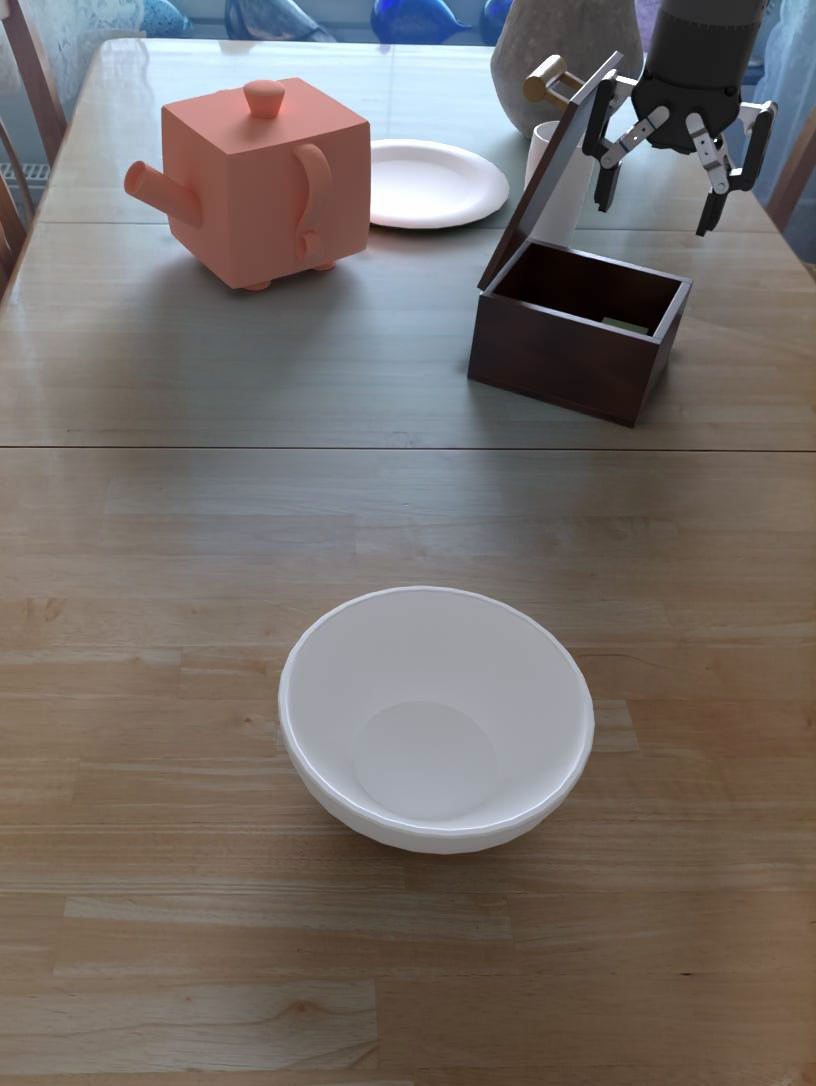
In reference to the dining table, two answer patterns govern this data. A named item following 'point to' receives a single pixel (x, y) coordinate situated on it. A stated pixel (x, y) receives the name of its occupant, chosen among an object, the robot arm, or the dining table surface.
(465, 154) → the plate
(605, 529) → the dining table surface
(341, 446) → the dining table surface
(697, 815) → the dining table surface
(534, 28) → the vase
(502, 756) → the bowl
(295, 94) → the teapot
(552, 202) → the drinking glass
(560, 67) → the tea lid
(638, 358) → the box
